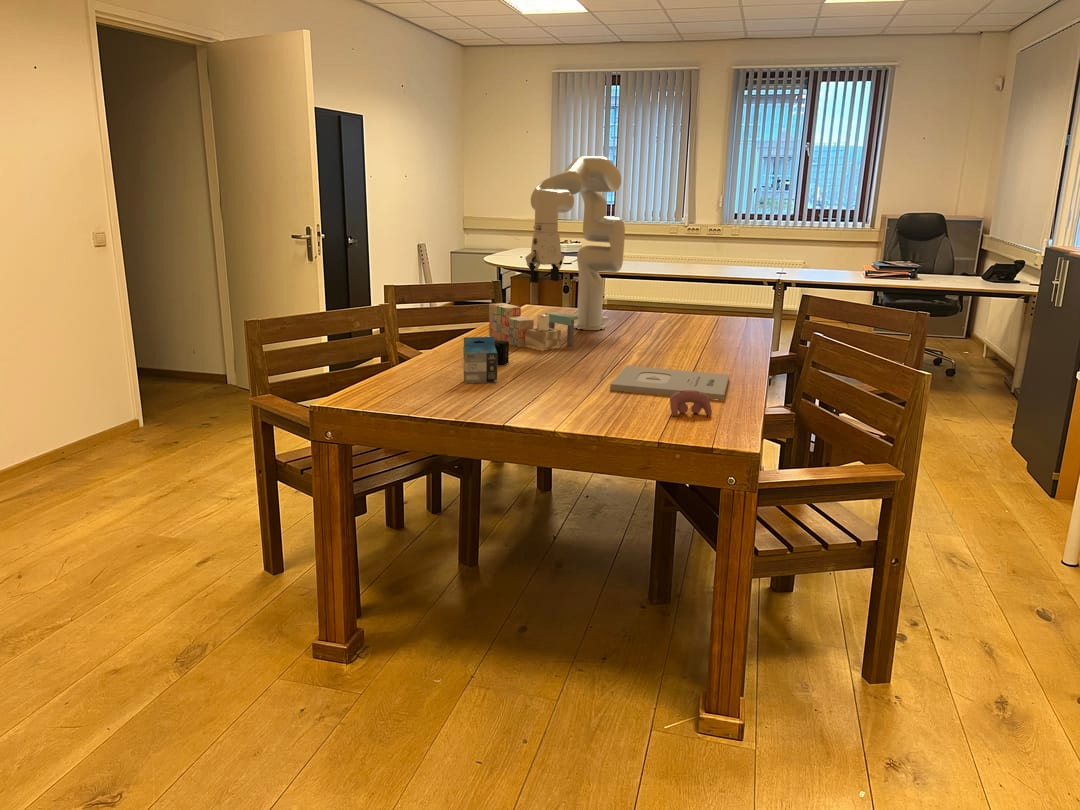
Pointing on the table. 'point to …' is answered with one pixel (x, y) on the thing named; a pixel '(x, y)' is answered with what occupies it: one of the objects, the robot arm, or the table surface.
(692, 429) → the table surface
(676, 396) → the video game controller
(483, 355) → the label tape box
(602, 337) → the table surface
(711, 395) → the award plaque
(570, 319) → the teal bridge block
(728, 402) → the table surface
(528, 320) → the stack of blocks
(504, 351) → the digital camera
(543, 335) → the socket
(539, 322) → the peg
